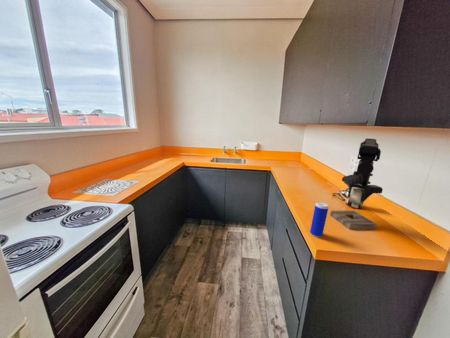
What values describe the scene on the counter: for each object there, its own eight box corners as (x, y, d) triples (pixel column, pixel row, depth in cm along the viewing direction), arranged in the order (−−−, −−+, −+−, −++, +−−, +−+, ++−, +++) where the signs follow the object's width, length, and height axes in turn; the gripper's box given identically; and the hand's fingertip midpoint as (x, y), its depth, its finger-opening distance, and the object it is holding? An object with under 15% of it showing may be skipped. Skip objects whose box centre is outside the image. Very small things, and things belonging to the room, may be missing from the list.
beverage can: (318, 231, 85) (324, 202, 82) (324, 238, 80) (331, 207, 77) (307, 231, 85) (313, 201, 81) (313, 237, 80) (319, 206, 76)
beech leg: (344, 204, 97) (349, 187, 95) (355, 204, 98) (359, 187, 95) (353, 209, 91) (358, 191, 89) (364, 209, 92) (369, 191, 89)
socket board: (330, 215, 102) (331, 210, 102) (352, 215, 104) (353, 210, 103) (349, 229, 89) (350, 223, 88) (374, 229, 90) (376, 223, 90)
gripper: (335, 165, 98) (330, 192, 101) (365, 175, 80) (356, 207, 84) (354, 166, 99) (348, 193, 103) (387, 176, 81) (378, 208, 85)
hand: (356, 199), depth 93 cm, fingers closed on beech leg, 6 cm apart
